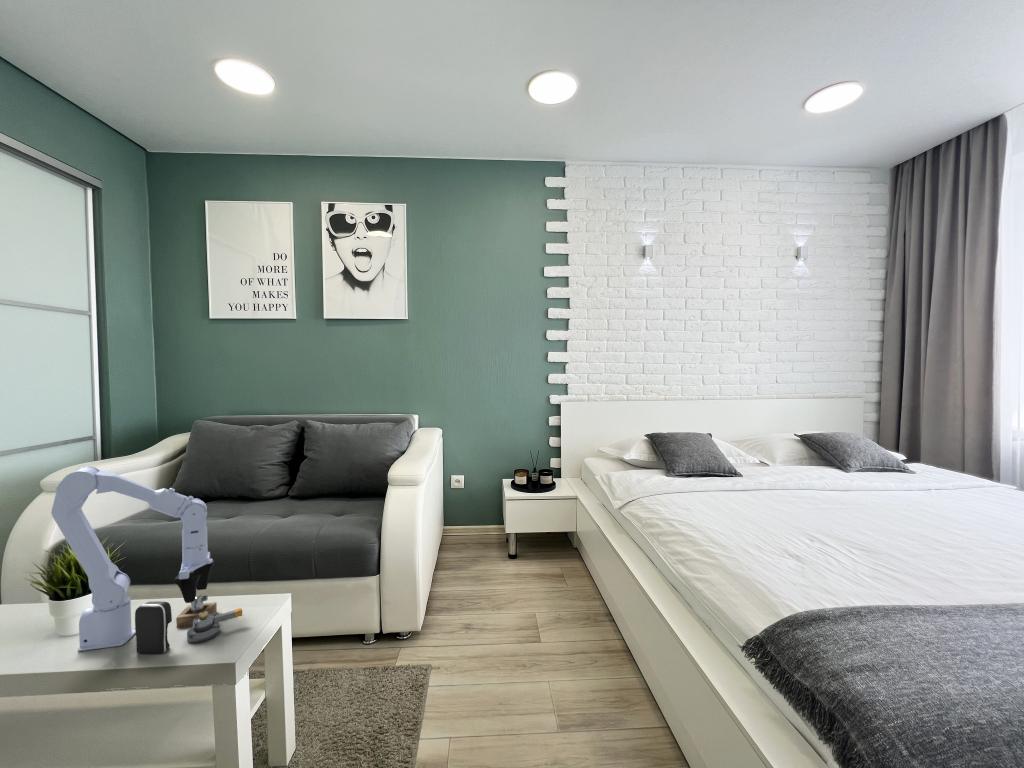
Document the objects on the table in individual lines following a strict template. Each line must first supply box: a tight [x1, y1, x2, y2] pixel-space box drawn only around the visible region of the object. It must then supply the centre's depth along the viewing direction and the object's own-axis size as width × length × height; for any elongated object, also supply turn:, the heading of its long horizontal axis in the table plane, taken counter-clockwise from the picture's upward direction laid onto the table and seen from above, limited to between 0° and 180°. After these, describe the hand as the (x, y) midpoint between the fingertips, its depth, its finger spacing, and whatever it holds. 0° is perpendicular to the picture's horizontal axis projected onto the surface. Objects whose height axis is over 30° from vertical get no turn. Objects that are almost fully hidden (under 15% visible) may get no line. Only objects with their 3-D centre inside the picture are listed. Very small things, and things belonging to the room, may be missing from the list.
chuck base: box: [186, 611, 221, 645], centre depth 119 cm, size 7×7×6 cm
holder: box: [175, 601, 218, 628], centre depth 128 cm, size 7×7×3 cm
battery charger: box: [134, 600, 173, 655], centre depth 113 cm, size 7×4×11 cm, turn 86°
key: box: [186, 594, 208, 614], centre depth 128 cm, size 5×3×6 cm, turn 103°
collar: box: [192, 607, 243, 632], centre depth 121 cm, size 4×11×2 cm, turn 131°
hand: (196, 595), depth 127 cm, fingers open, 7 cm apart
